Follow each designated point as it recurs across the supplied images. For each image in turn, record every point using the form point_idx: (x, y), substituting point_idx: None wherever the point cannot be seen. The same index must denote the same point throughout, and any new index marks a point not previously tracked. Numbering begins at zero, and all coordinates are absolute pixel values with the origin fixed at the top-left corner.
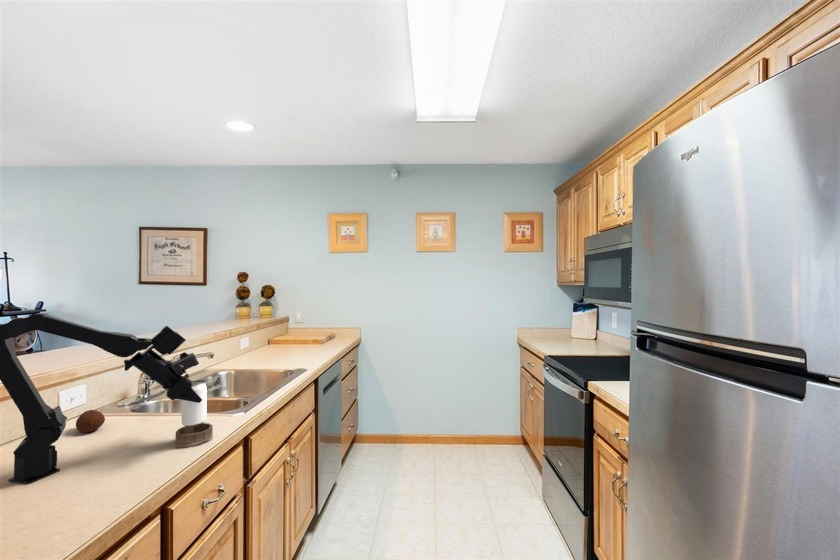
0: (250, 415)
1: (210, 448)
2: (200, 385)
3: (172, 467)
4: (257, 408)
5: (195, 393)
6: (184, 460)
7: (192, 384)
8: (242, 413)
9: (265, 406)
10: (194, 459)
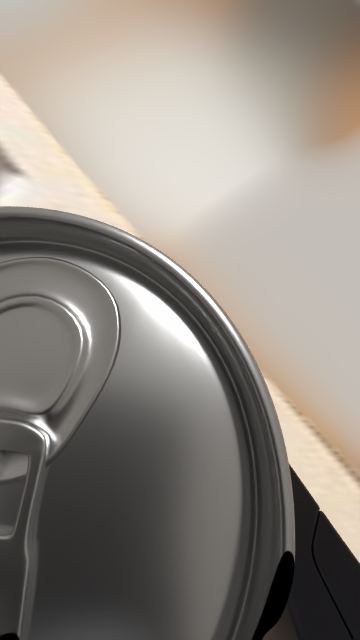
0: (65, 175)
1: (270, 386)
2: (247, 391)
3: (351, 549)
4: (16, 133)
5: (311, 505)
6: (315, 493)
7: (29, 573)
8: (17, 182)
9: (22, 110)
10: (331, 462)
